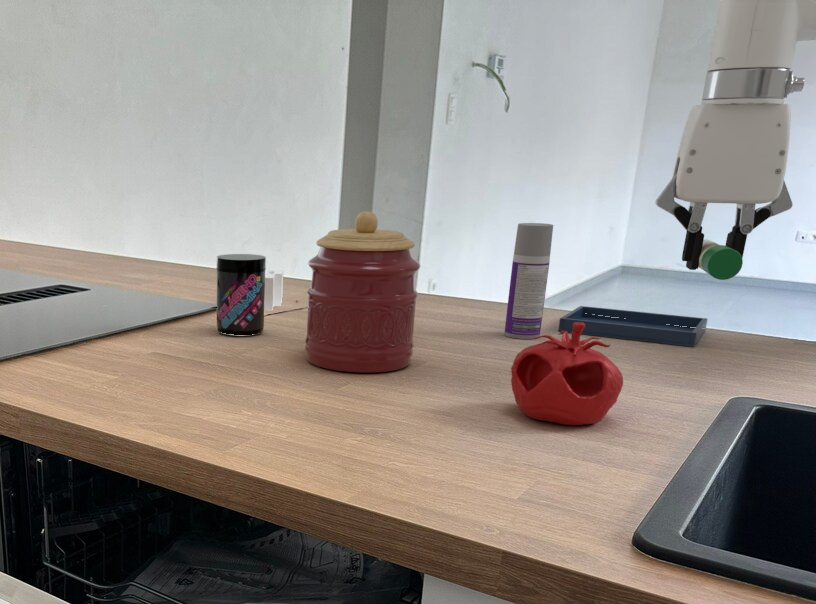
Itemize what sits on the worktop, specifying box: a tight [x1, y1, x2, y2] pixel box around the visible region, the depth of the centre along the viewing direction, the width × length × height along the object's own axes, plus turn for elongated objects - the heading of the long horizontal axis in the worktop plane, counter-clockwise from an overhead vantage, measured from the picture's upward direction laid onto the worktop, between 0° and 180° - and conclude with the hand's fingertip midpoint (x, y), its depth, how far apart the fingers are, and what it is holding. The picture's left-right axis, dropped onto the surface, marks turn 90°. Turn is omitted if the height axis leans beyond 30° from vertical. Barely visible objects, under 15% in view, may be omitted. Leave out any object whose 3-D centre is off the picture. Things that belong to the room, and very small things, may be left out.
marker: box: [698, 238, 744, 281], centre depth 95 cm, size 13×3×3 cm, turn 162°
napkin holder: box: [264, 267, 284, 311], centre depth 139 cm, size 15×11×6 cm
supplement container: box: [215, 253, 267, 335], centre depth 119 cm, size 7×7×10 cm
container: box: [504, 222, 554, 340], centre depth 117 cm, size 5×5×15 cm
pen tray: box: [558, 305, 708, 348], centre depth 122 cm, size 17×12×2 cm
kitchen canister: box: [304, 210, 421, 374], centre depth 102 cm, size 13×13×18 cm
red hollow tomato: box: [510, 322, 624, 426], centre depth 82 cm, size 10×10×9 cm
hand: (709, 267), depth 96 cm, fingers closed on marker, 3 cm apart
